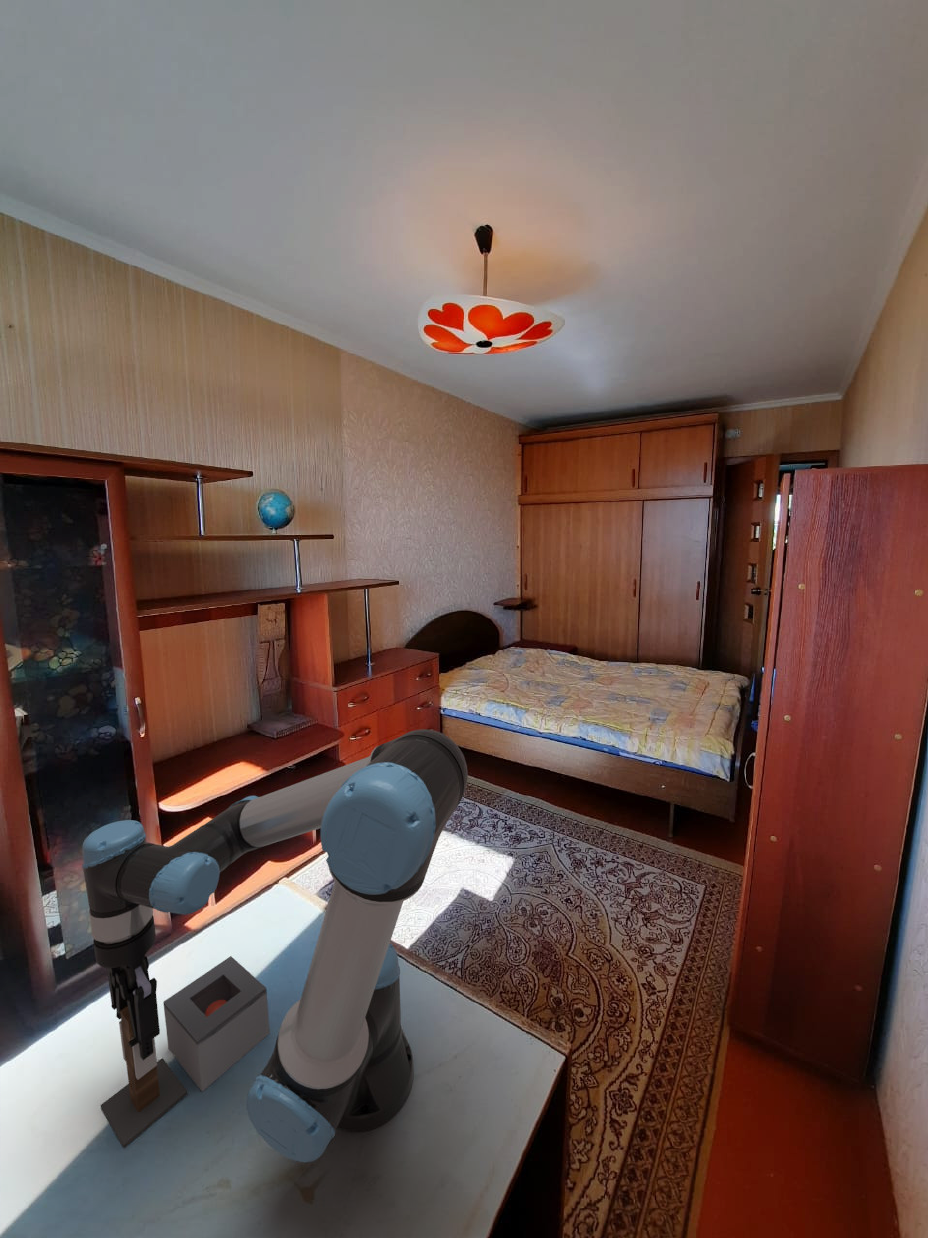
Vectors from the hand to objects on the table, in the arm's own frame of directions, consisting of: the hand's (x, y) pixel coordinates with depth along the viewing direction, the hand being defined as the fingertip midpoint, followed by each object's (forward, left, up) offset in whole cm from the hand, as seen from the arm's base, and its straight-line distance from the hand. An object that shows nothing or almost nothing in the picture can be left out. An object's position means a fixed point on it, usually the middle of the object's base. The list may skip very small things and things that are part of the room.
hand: (140, 1061), depth 77 cm
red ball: (0, -12, -5) cm, 13 cm away
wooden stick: (0, 0, -7) cm, 7 cm away
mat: (0, 0, -7) cm, 7 cm away
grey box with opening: (0, -12, -7) cm, 14 cm away
